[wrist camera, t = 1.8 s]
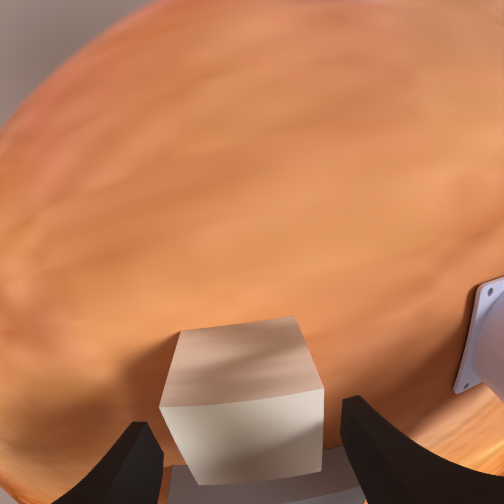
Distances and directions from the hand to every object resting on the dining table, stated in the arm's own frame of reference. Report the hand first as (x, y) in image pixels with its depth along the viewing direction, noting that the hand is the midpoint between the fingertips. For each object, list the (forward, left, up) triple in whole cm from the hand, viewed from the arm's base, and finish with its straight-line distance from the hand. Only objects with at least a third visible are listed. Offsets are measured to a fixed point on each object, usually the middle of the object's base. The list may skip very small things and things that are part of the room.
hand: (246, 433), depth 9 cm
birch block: (0, 0, -4) cm, 4 cm away
